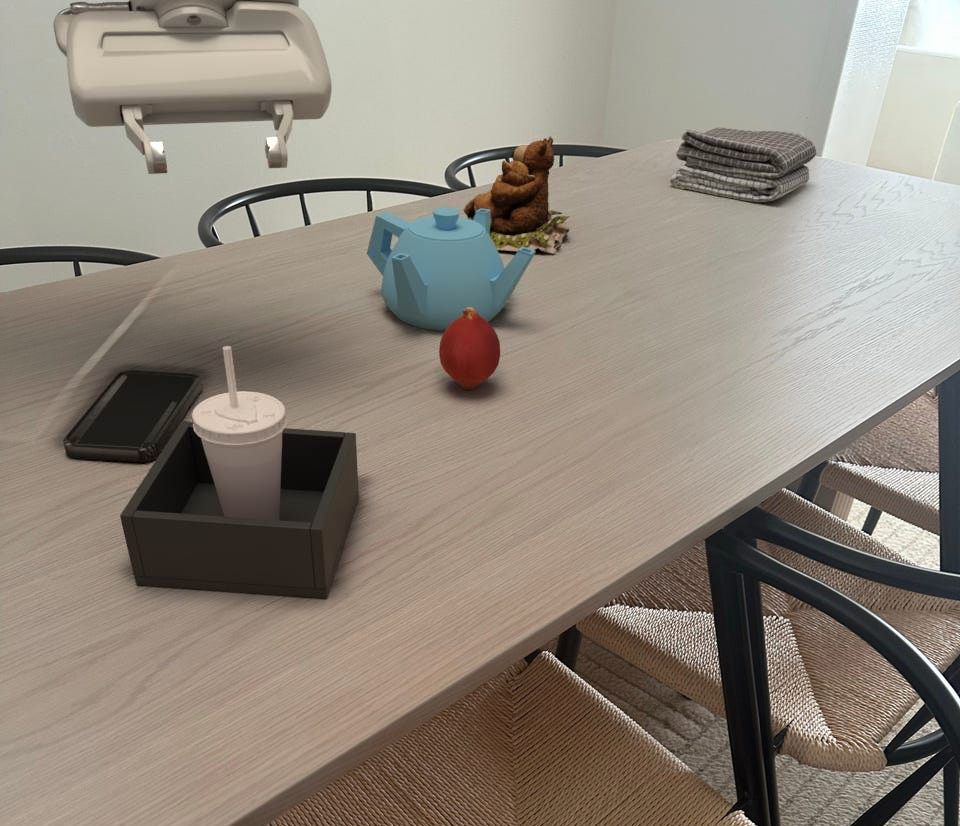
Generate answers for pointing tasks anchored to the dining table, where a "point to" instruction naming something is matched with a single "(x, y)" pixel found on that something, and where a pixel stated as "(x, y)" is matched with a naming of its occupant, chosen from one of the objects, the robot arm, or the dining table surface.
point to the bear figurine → (522, 202)
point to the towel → (743, 163)
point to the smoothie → (243, 448)
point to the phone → (133, 416)
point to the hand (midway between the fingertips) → (219, 167)
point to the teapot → (443, 267)
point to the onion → (469, 349)
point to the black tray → (244, 520)
